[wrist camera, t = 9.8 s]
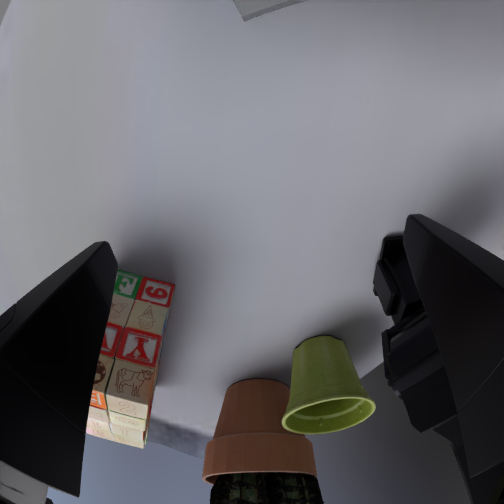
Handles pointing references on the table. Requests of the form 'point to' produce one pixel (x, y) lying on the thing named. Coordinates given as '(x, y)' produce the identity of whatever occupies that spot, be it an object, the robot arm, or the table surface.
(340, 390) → the plant pot
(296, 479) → the potted plant
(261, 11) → the dock
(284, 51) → the table surface
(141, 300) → the stack of blocks
